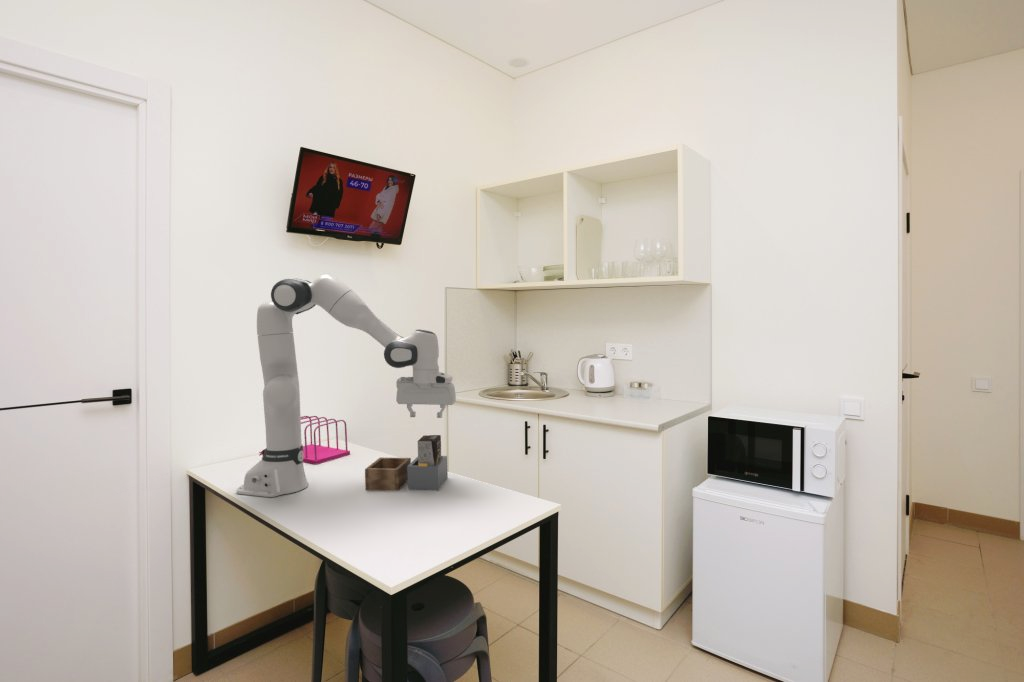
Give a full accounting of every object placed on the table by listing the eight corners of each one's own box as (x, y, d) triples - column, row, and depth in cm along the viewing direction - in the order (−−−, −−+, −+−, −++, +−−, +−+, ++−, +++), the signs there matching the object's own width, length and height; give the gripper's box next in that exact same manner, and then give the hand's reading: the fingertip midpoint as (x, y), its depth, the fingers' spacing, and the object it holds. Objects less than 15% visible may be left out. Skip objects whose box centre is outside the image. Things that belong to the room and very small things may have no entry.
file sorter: (315, 465, 209) (314, 425, 208) (276, 457, 222) (275, 420, 221) (350, 454, 224) (349, 418, 223) (311, 447, 237) (310, 413, 236)
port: (408, 490, 177) (407, 464, 177) (419, 477, 190) (418, 453, 190) (438, 490, 176) (437, 464, 175) (447, 477, 189) (447, 453, 189)
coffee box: (436, 488, 178) (435, 440, 177) (418, 488, 179) (416, 440, 178) (442, 479, 187) (441, 434, 187) (424, 479, 188) (423, 434, 187)
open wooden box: (365, 489, 178) (364, 469, 178) (380, 476, 192) (380, 457, 192) (398, 490, 177) (397, 469, 176) (411, 476, 191) (410, 457, 191)
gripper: (393, 377, 179) (393, 418, 180) (452, 378, 177) (453, 419, 178) (399, 375, 185) (399, 415, 186) (456, 376, 183) (457, 416, 184)
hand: (426, 417), depth 182 cm, fingers open, 8 cm apart
